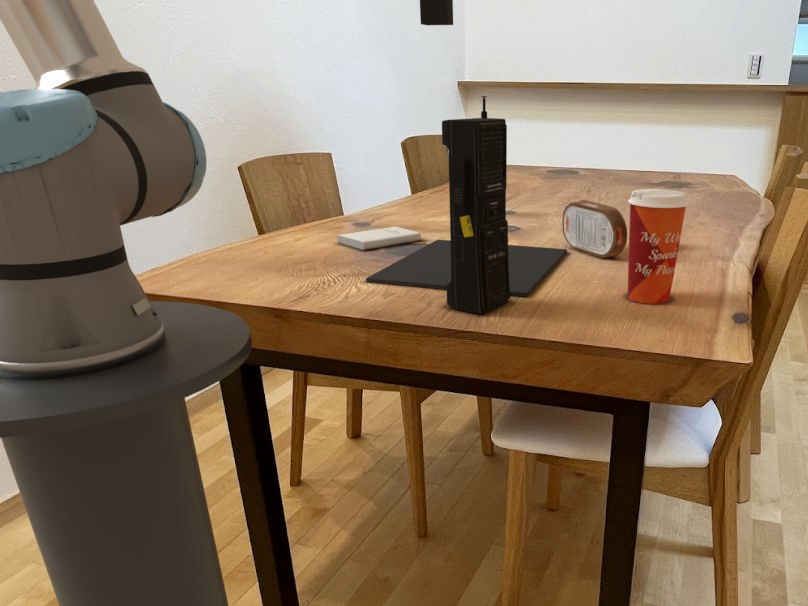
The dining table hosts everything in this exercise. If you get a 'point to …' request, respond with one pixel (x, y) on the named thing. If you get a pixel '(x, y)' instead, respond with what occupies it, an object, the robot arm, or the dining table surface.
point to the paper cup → (654, 243)
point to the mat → (435, 267)
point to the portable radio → (477, 212)
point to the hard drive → (378, 238)
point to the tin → (594, 228)
